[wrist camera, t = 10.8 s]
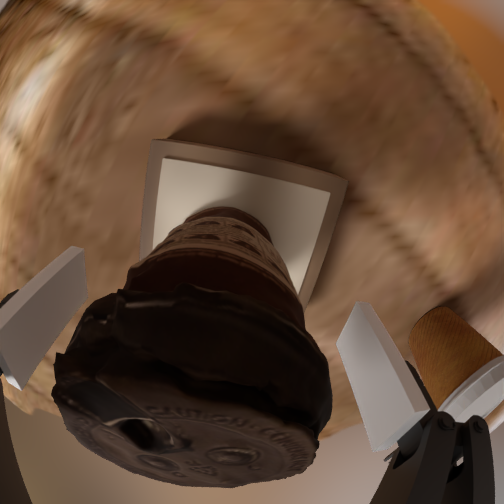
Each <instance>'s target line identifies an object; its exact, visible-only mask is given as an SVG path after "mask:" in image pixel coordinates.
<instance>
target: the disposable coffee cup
mask: <svg viewBox="0 0 504 504" xmlns="http://www.w3.org/2000/svg"><path fill="white" fill-rule="evenodd" d="M409 346H410V349H411V351H412V353H413V356H414V358H415V361H416V364H417V366H418V369H419V372H420V374H421V377H422V380H423V383H424V385H425V387H426V389H427V391H428V393H429V395H430V397H431V398H432V400H433V402H434V404H435V406H436V408H437V410H438V411H444V412H447V413H449V414H450V415H451V416H452V417H453V418H454V419H455V422H463V423H465V422H466V421H467V420H468V419H469V418H470V417H471V416H473V415H478V416H481V417H482V418H485V417H486V416H487V415H488V414H489V413H490V412H492V411H493V410H494V409H495V408H496V407H497V406H498V405H499V404H500V403H501V402H502V400H503V399H504V355H503V354H502V353H501V352H500V351H498V350H497V349H496V348H495V347H494V346H493V345H492V344H491V343H490V342H488V341H487V340H486V339H485V338H484V337H483V336H482V335H481V334H479V333H478V332H477V331H476V330H475V329H474V328H473V327H471V326H470V325H469V324H468V323H467V322H465V321H464V320H463V319H462V318H461V317H459V316H458V315H457V314H456V313H455V312H453V311H452V310H451V309H450V308H448V307H438V308H435V309H433V310H431V311H430V312H428V313H427V314H425V315H424V316H423V317H422V318H421V319H420V320H419V321H418V322H417V323H416V325H415V326H414V328H413V330H412V332H411V334H410V337H409Z"/></svg>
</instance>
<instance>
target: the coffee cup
mask: <svg viewBox="0 0 504 504" xmlns="http://www.w3.org/2000/svg"><path fill="white" fill-rule="evenodd" d="M53 365H54V373H55V379H56V384H55V386H54V387H53V389H52V393H51V396H52V397H53V399H54V402H55V403H56V404H57V406H58V408H59V410H60V412H61V415H62V417H63V419H64V424H65V425H66V427H67V430H68V431H70V432H71V433H72V434H73V435H74V436H75V437H76V439H77V440H78V441H79V442H80V443H81V444H82V445H83V446H84V447H86V448H87V449H89V450H90V451H92V452H94V453H95V454H97V455H99V456H101V457H102V458H104V459H106V460H109V461H111V462H113V463H115V464H116V465H118V466H120V467H122V468H124V469H126V470H128V471H130V472H132V473H134V474H139V475H142V476H145V477H148V478H151V479H154V480H158V481H162V482H167V483H171V484H175V485H180V486H191V487H221V488H235V487H238V486H243V485H247V484H250V483H258V482H266V481H272V480H279V479H283V478H284V479H286V478H287V477H291V476H294V475H295V474H301V473H303V472H304V471H305V470H306V469H307V467H308V466H310V465H311V464H312V463H313V460H314V458H315V457H316V453H315V452H316V451H317V449H318V448H319V441H318V440H317V439H318V435H319V433H320V432H321V431H322V429H323V428H324V427H325V425H326V424H327V422H328V421H329V419H330V417H331V412H332V396H333V395H332V389H331V383H330V377H329V367H328V362H327V359H326V357H325V356H324V354H323V353H322V352H321V351H320V349H319V347H318V345H317V343H316V342H315V340H314V339H313V337H312V336H311V335H310V334H309V333H308V332H307V331H306V329H305V320H304V311H303V306H302V304H301V302H300V299H299V297H298V294H297V291H296V289H295V287H294V285H293V282H292V280H291V278H290V275H289V272H288V269H287V267H286V264H285V263H284V261H283V259H282V258H281V256H280V254H279V252H278V251H277V250H276V249H275V248H274V245H273V243H272V240H271V237H270V234H269V232H268V230H267V229H266V227H265V226H264V225H263V224H262V223H261V222H260V221H259V220H258V219H257V218H255V217H254V216H252V215H250V214H248V213H246V212H245V211H242V210H240V209H238V208H235V207H224V206H222V207H221V206H219V207H212V208H207V209H204V210H202V211H199V212H197V213H195V214H193V215H191V216H189V217H187V218H186V219H185V221H184V222H183V223H182V224H181V225H179V226H177V227H175V228H173V229H172V230H171V231H170V232H169V234H168V236H167V237H166V238H165V239H164V240H163V242H161V243H159V244H158V245H157V246H156V247H155V248H154V249H153V251H152V252H151V253H150V254H149V255H148V256H147V257H145V258H144V259H142V260H141V261H140V262H138V263H136V264H134V265H133V266H131V267H130V269H129V270H128V274H127V281H126V284H125V286H124V288H123V289H118V291H117V293H111V294H109V295H107V296H105V297H103V298H100V299H98V300H95V301H94V302H93V303H92V304H91V305H90V306H89V307H88V308H86V310H85V312H84V313H83V316H82V318H81V320H80V321H79V323H78V325H77V327H76V330H75V332H74V334H73V336H72V339H71V341H70V343H69V345H68V347H67V349H66V351H65V354H61V353H57V352H56V359H55V363H54V364H53Z"/></svg>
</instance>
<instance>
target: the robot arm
mask: <svg viewBox="0 0 504 504" xmlns="http://www.w3.org/2000/svg"><path fill="white" fill-rule="evenodd" d="M87 298H88V292H87V283H86V272H85V258H84V249H82V248H78V247H74V246H71V247H70V248H68V249H67V250H66V251H64V252H63V253H62V254H61V255H59V256H58V257H57V258H56V259H55V260H53V261H52V262H51V263H50V264H49V265H47V266H46V267H45V268H44V269H43V270H41V271H40V272H39V273H38V274H37V275H36V276H35V277H33V278H32V279H31V280H30V281H29V282H28V283H27V284H26V285H25V286H23V287H22V288H21V289H20V290H19V289H17V290H15V291H13V292H12V293H10V294H8V295H7V296H6V297H5V298H4V299H3V300H2V301H1V303H0V376H1V375H2V373H3V374H4V376H5V377H6V379H7V381H8V382H9V383H10V384H11V385H13V386H15V387H16V388H18V389H20V390H21V391H22V390H23V388H24V386H25V385H26V383H27V382H28V380H29V378H30V377H31V375H32V374H33V372H34V371H35V369H36V367H37V366H38V364H39V363H40V361H41V360H42V358H43V357H44V356H45V354H46V353H47V351H48V350H49V348H50V347H51V345H52V344H53V343H54V341H55V340H56V338H57V337H58V336H59V334H60V333H61V332H62V330H63V329H64V328H65V326H66V325H67V324H68V322H69V321H70V320H71V318H72V317H73V316H74V314H75V313H76V312H77V311H78V309H79V308H80V307H81V306H82V304H83V303H84V302H85V301H86V299H87ZM336 345H337V348H338V351H339V353H340V356H341V359H342V362H343V364H344V367H345V370H346V373H347V375H348V378H349V381H350V384H351V387H352V390H353V393H354V396H355V398H356V401H357V404H358V407H359V410H360V413H361V416H362V419H363V423H364V426H365V429H366V432H367V435H368V438H369V441H370V445H371V448H372V451H373V452H375V451H381V450H386V449H389V448H390V447H391V446H392V445H393V444H395V443H396V442H397V443H398V446H399V447H398V448H397V449H396V450H395V451H393V452H392V453H391V454H390V455H388V456H387V457H386V458H385V459H384V461H387V460H389V459H390V458H391V457H392V459H391V461H390V462H389V466H388V468H387V470H386V472H385V474H384V477H383V479H382V481H381V483H380V485H379V487H378V489H377V491H376V493H375V494H374V496H373V498H372V500H371V502H370V504H495V482H494V467H493V457H492V448H491V441H490V434H489V429H488V425H487V423H486V421H485V420H484V419H483V418H482V417H481V416H478V415H473V416H471V417H470V418H469V419H468V420H467V421H466V422H465V423H463V422H455V419H454V418H453V417H452V416H451V415H450V414H449V413H447V412H444V411H438V410H437V408H436V406H435V404H434V402H433V400H432V398H431V397H430V395H429V393H428V391H427V389H426V387H425V386H424V384H423V382H422V380H421V379H420V376H419V375H418V373H417V371H416V369H415V368H414V367H413V366H412V365H411V364H410V363H409V362H408V361H404V359H403V357H402V356H401V354H400V352H399V350H398V349H397V347H396V345H395V344H394V342H393V340H392V338H391V337H390V335H389V333H388V332H387V330H386V328H385V327H384V325H383V324H382V322H381V320H380V319H379V317H378V316H377V314H376V312H375V311H374V309H373V308H372V306H371V304H370V303H367V302H360V301H356V303H355V305H354V308H353V310H352V312H351V314H350V316H349V318H348V320H347V322H346V324H345V326H344V328H343V330H342V332H341V334H340V336H339V338H338V340H337V342H336ZM461 457H463V463H461V464H460V465H459V466H457V464H456V463H457V461H458V460H459V459H460V458H461ZM0 504H32V502H31V499H30V497H29V494H28V492H27V489H26V487H25V484H24V481H23V478H22V475H21V472H20V469H19V466H18V463H17V459H16V456H15V452H14V448H13V445H12V440H11V436H10V432H9V427H8V422H7V416H6V410H5V403H4V395H3V386H2V381H1V379H0Z"/></svg>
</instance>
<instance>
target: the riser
mask: <svg viewBox="0 0 504 504" xmlns="http://www.w3.org/2000/svg"><path fill="white" fill-rule="evenodd" d="M348 182H349V181H348V180H346V179H344V178H342V177H340V176H338V175H336V174H333V173H329V172H326V171H322V170H319V169H315V168H311V167H308V166H304V165H300V164H296V163H292V162H288V161H284V160H280V159H276V158H272V157H267V156H263V155H258V154H254V153H249V152H244V151H239V150H234V149H229V148H224V147H218V146H212V145H206V144H200V143H194V142H187V141H180V140H173V139H152V140H151V145H150V151H149V158H148V165H147V172H146V180H145V189H144V198H143V209H142V221H141V236H140V257H139V262H140V261H141V260H142V259H144V258H145V257H147V256H148V255H149V254H150V253H151V252H152V251H153V249H154V248H155V247H156V246H157V245H158V244H159V243H161V242H163V240H164V239H165V238H166V237H167V236H168V234H169V232H170V231H171V230H172V229H173V228H175V227H177V226H179V225H181V224H182V223H183V222H184V221H185V219H186V218H187V217H189V216H191V215H193V214H195V213H197V212H199V211H202V210H204V209H207V208H212V207H219V206H221V207H222V206H224V207H235V208H238V209H240V210H242V211H245V212H246V213H248V214H250V215H252V216H254V217H255V218H257V219H258V220H259V221H260V222H261V223H262V224H263V225H264V226H265V227H266V229H267V230H268V232H269V234H270V237H271V240H272V243H273V245H274V248H275V249H276V250H277V251H278V252H279V254H280V256H281V258H282V259H283V261H284V263H285V264H286V267H287V269H288V272H289V275H290V278H291V280H292V282H293V285H294V287H295V289H296V291H297V294H298V297H299V299H300V302H301V304H302V306H303V311H304V312H305V310H306V307H307V304H308V302H309V299H310V297H311V294H312V291H313V289H314V286H315V283H316V281H317V278H318V275H319V272H320V269H321V267H322V264H323V261H324V258H325V255H326V252H327V249H328V246H329V244H330V241H331V238H332V234H333V231H334V228H335V225H336V222H337V219H338V216H339V213H340V209H341V206H342V203H343V200H344V196H345V193H346V189H347V186H348Z"/></svg>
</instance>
